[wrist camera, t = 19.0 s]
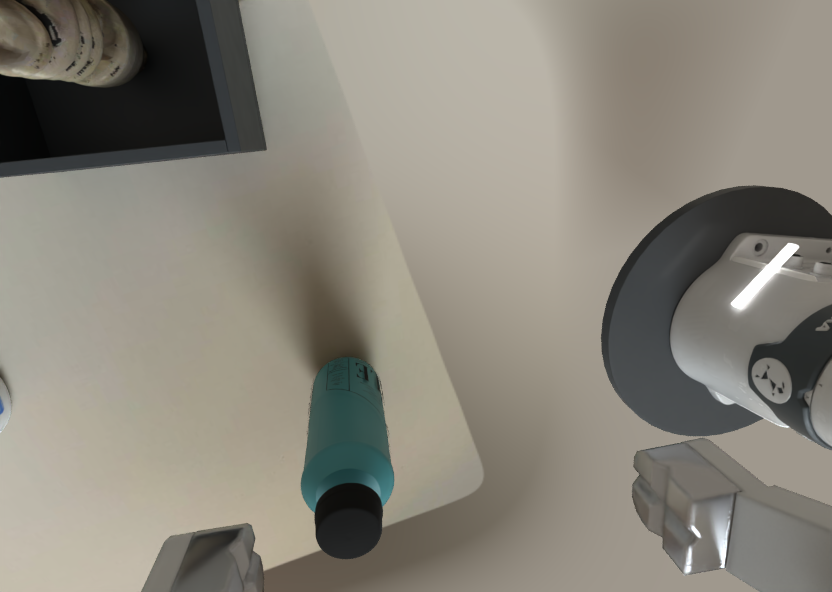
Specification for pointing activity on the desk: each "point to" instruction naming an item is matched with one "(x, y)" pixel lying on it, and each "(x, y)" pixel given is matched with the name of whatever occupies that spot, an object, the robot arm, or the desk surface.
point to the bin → (142, 99)
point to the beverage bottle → (347, 458)
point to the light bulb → (69, 42)
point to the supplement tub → (4, 405)
